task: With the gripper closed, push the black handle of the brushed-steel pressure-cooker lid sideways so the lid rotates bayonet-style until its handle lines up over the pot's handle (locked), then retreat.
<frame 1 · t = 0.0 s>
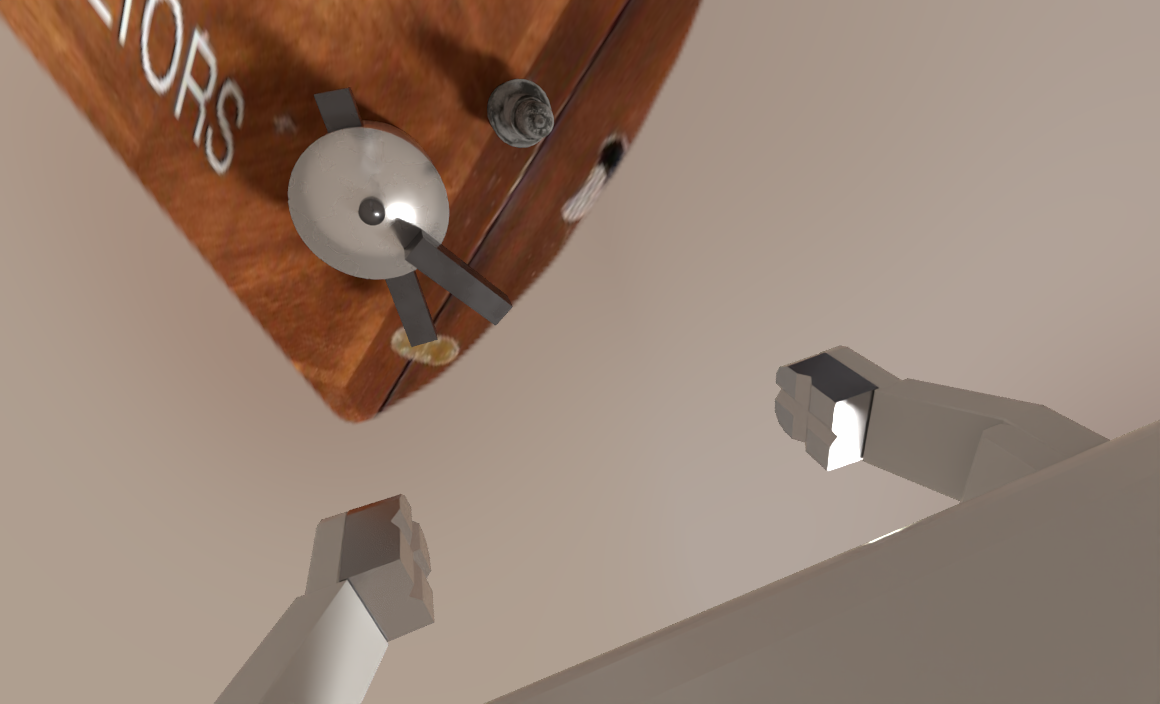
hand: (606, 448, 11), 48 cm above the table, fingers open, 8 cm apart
lid: (412, 241, 44), point 10 cm above the table, hinge at 35.0°
grey round vessel: (513, 111, 52), on the table
pot: (375, 186, 51), on the table
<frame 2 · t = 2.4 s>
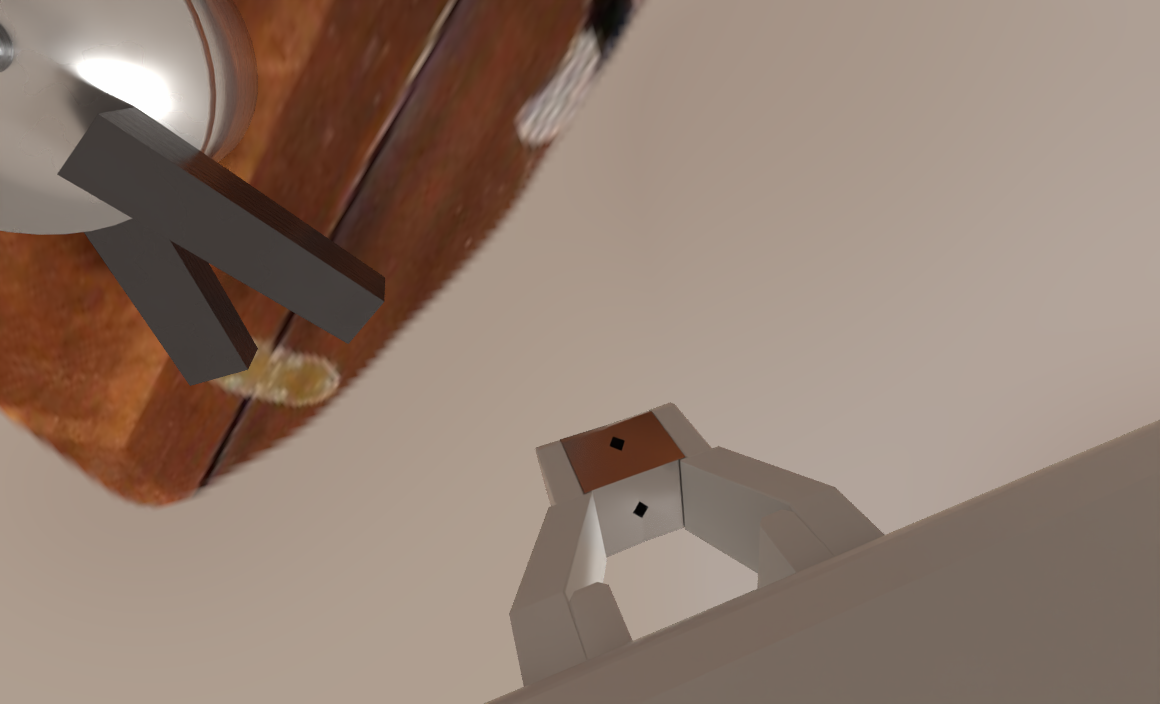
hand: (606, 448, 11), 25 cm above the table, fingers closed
lid: (102, 134, 17), point 10 cm above the table, hinge at 35.0°
pot: (107, 45, 24), on the table
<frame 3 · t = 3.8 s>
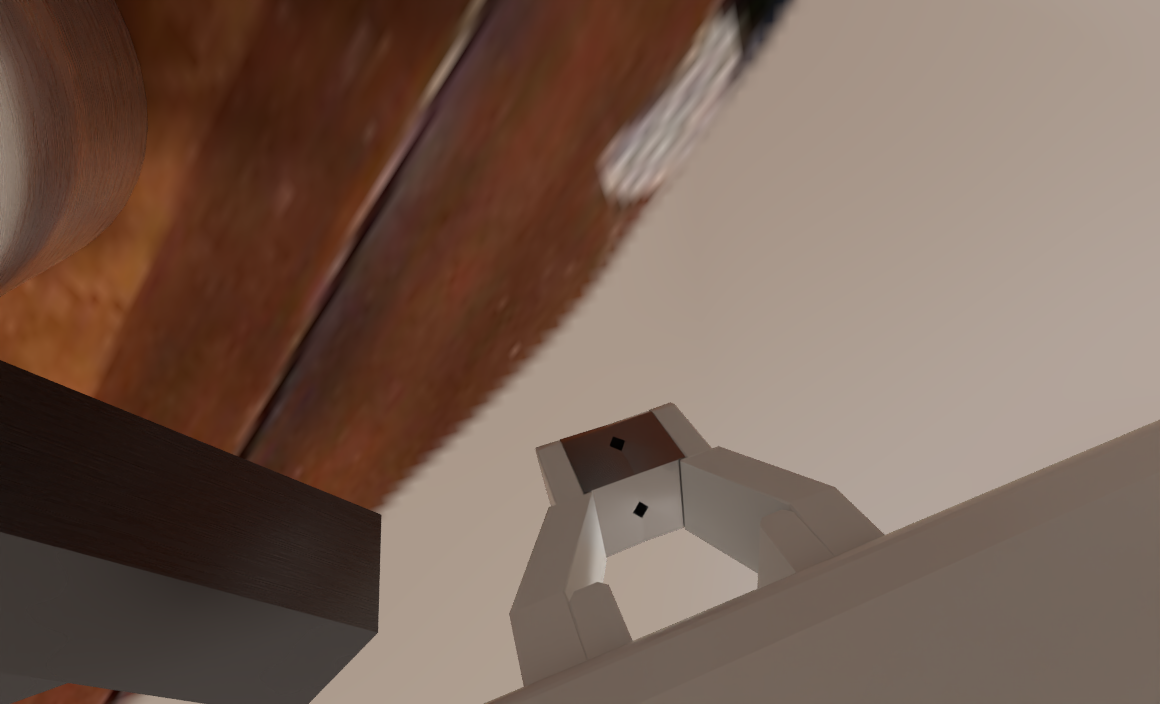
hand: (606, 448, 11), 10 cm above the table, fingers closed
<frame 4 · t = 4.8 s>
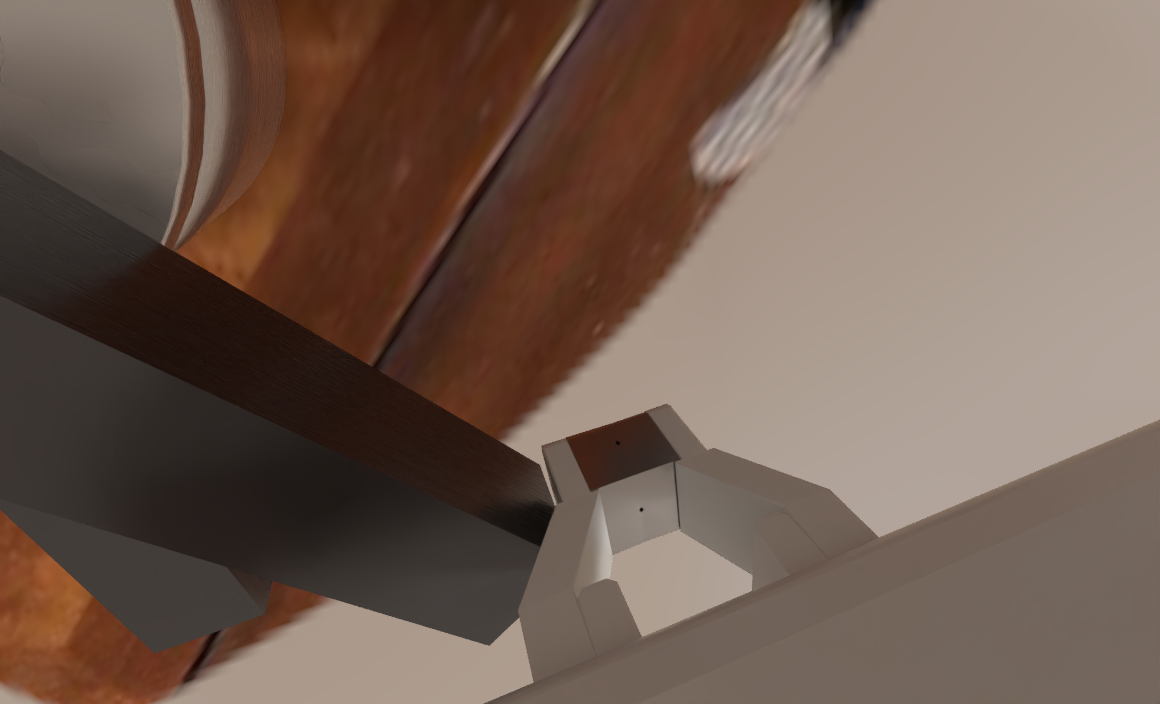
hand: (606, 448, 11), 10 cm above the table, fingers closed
pot: (1, 7, 12), on the table
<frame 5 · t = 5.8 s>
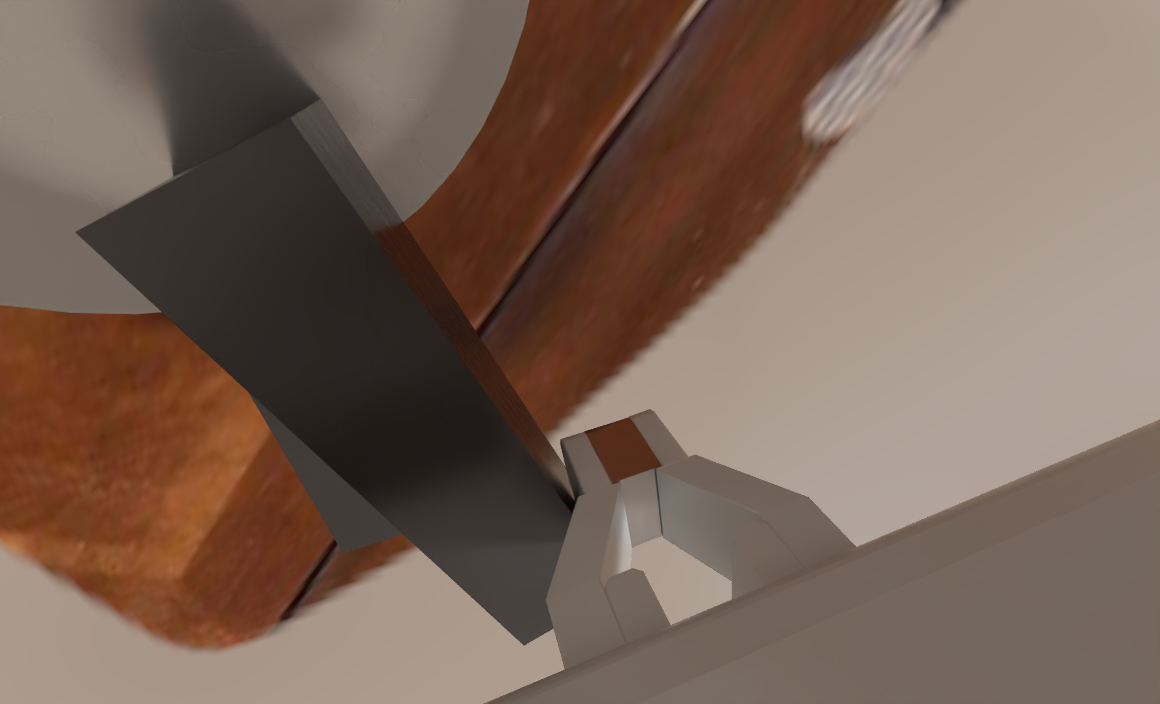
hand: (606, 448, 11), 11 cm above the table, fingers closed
lid: (225, 139, 7), point 10 cm above the table, hinge at 16.1°, touching gripper
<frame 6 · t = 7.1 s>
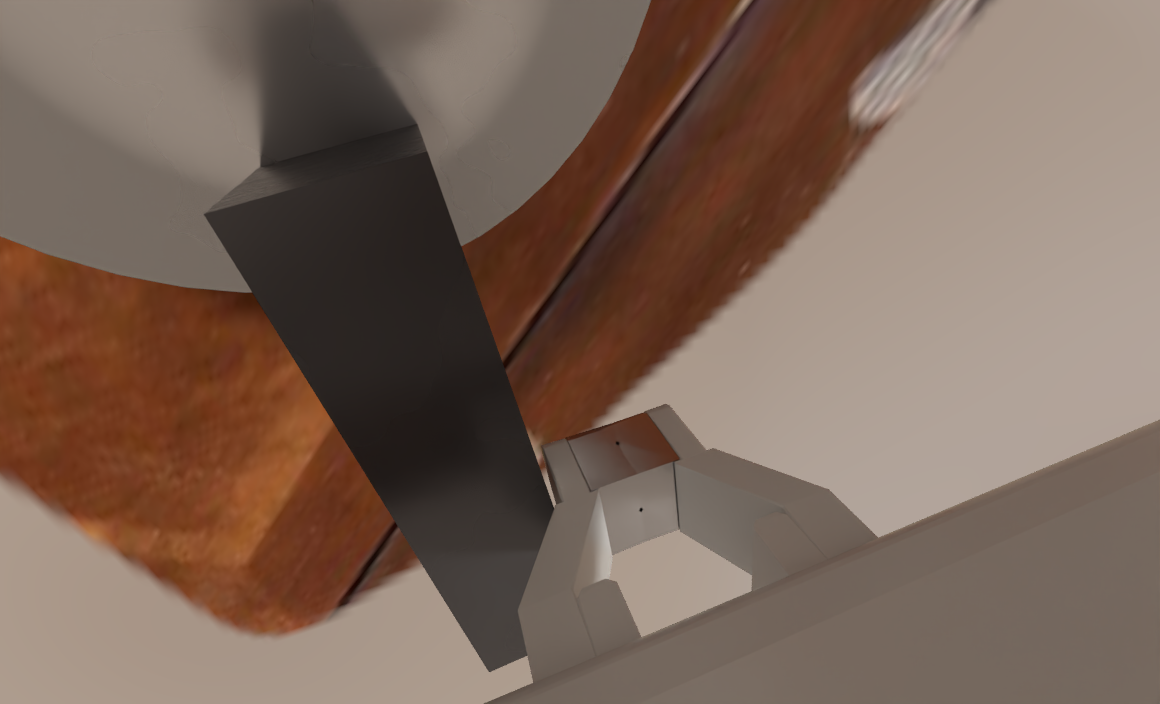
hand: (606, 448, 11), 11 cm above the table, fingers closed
lid: (331, 146, 7), point 10 cm above the table, hinge at 3.4°, touching gripper
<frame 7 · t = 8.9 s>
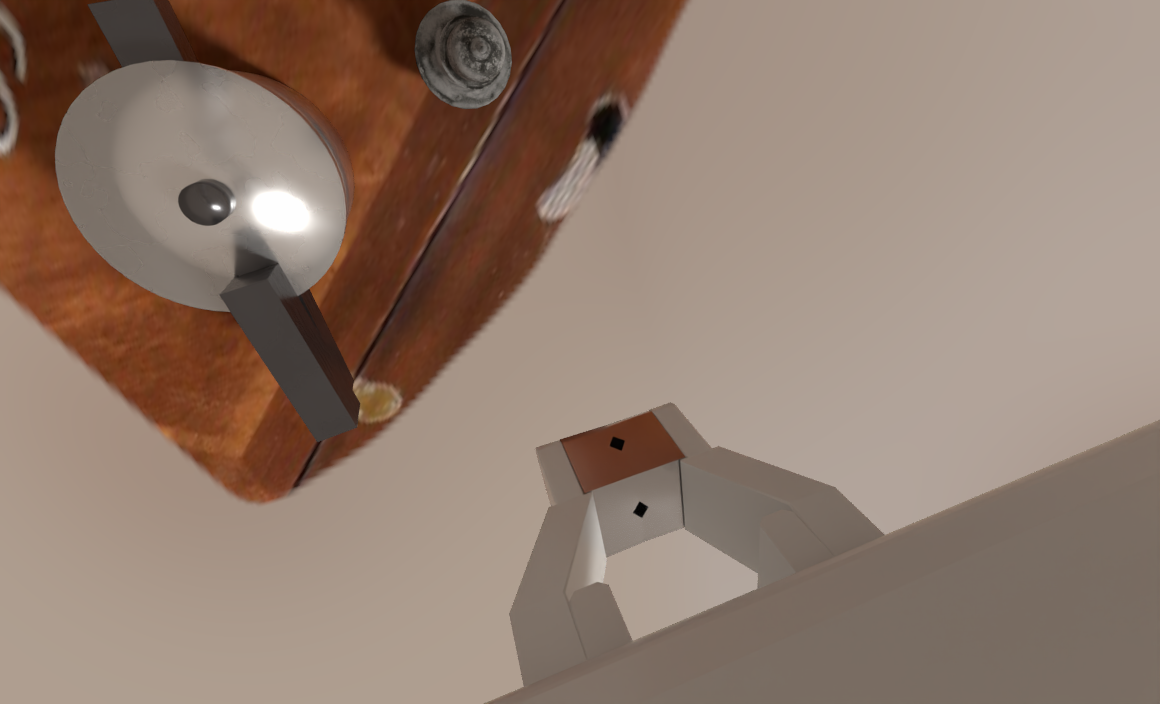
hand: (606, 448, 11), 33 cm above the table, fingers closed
lid: (251, 273, 28), point 10 cm above the table, hinge at 3.4°
grey round vessel: (458, 59, 35), on the table
pot: (256, 173, 34), on the table
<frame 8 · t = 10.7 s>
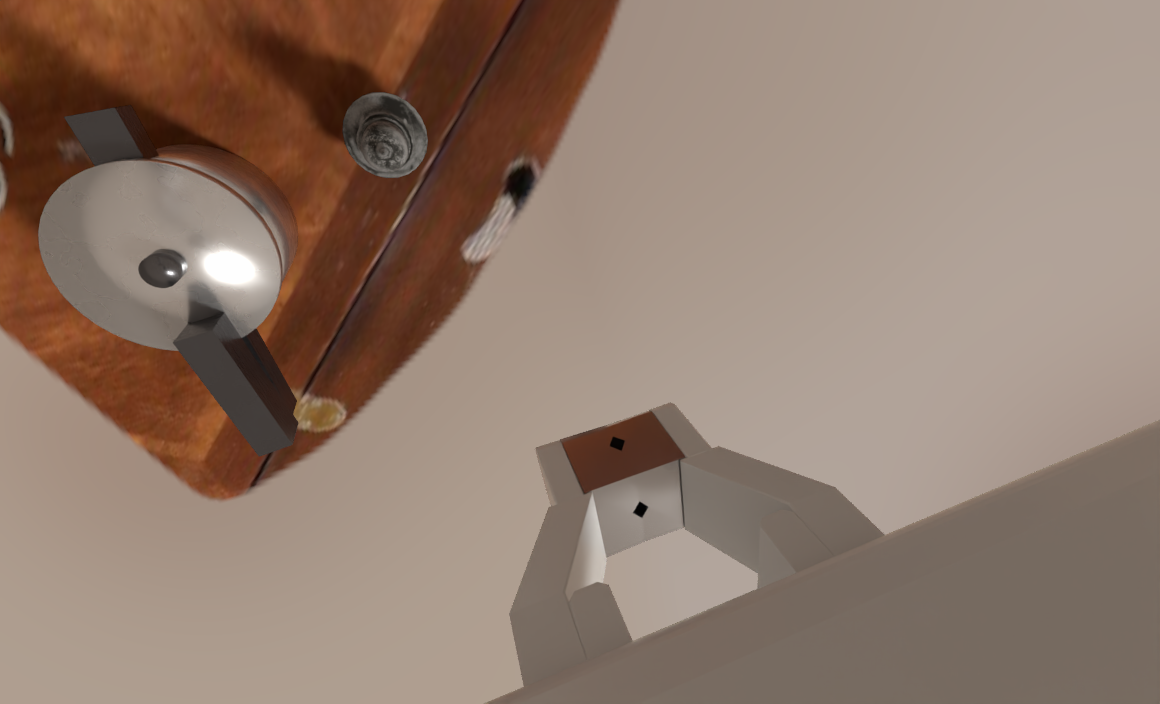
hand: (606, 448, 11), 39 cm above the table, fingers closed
lid: (201, 322, 34), point 10 cm above the table, hinge at 3.4°
grey round vessel: (386, 131, 41), on the table
pot: (211, 226, 40), on the table
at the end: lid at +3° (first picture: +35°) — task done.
